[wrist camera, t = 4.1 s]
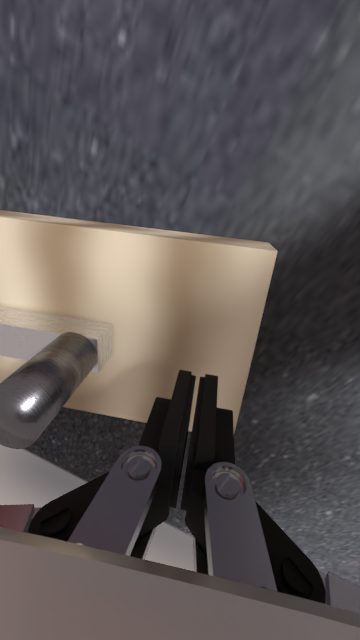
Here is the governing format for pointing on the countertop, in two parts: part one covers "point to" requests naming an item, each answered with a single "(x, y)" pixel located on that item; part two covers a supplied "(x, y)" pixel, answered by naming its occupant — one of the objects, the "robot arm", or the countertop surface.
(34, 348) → the bolt
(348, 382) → the countertop surface
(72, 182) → the countertop surface
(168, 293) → the block fixture base
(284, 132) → the countertop surface
